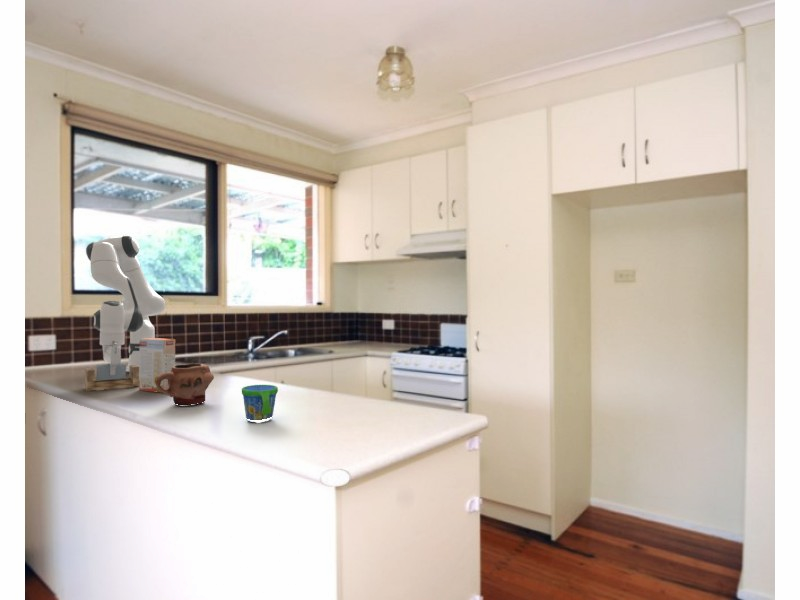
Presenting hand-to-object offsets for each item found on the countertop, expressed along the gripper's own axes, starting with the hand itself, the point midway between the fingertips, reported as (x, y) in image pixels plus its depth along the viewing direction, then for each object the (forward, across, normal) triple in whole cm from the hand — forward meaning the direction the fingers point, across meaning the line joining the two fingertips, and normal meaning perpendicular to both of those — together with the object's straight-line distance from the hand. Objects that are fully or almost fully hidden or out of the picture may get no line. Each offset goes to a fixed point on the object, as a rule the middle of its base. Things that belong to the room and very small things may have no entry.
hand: (111, 374), depth 199 cm
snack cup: (+6, -88, -28) cm, 92 cm away
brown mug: (+6, -52, -16) cm, 55 cm away
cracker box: (+6, -18, -13) cm, 23 cm away
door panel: (+2, 0, 0) cm, 2 cm away
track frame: (+6, 0, 0) cm, 6 cm away
